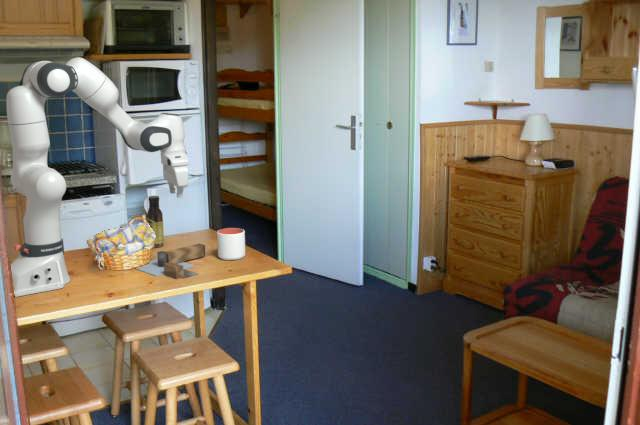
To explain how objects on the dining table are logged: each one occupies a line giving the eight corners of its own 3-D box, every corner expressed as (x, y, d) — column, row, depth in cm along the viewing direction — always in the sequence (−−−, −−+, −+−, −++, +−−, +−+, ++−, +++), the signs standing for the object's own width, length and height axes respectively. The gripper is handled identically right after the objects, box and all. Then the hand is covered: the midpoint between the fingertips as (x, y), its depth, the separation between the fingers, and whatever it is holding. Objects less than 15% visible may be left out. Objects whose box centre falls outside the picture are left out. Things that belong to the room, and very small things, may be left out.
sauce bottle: (146, 245, 277) (143, 195, 273) (162, 243, 279) (159, 194, 275) (149, 249, 271) (146, 198, 267) (166, 247, 274) (163, 197, 269)
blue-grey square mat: (156, 276, 238) (156, 275, 237) (130, 267, 248) (130, 266, 248) (194, 266, 249) (194, 265, 249) (168, 257, 260) (168, 256, 260)
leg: (161, 266, 246) (160, 254, 245) (155, 265, 248) (155, 252, 247) (205, 255, 260) (204, 243, 259) (199, 253, 262) (199, 242, 261)
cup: (247, 260, 256) (246, 233, 254) (219, 262, 254) (218, 235, 251) (243, 252, 265) (242, 227, 263) (216, 254, 263) (215, 228, 261)
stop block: (178, 279, 234) (177, 268, 233) (164, 274, 239) (163, 263, 238) (198, 274, 240) (197, 263, 239) (184, 269, 245) (183, 258, 244)
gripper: (157, 155, 261) (160, 191, 264) (172, 162, 243) (175, 201, 246) (174, 153, 264) (176, 189, 267) (190, 161, 246) (192, 199, 249)
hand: (176, 195), depth 257 cm, fingers open, 8 cm apart
